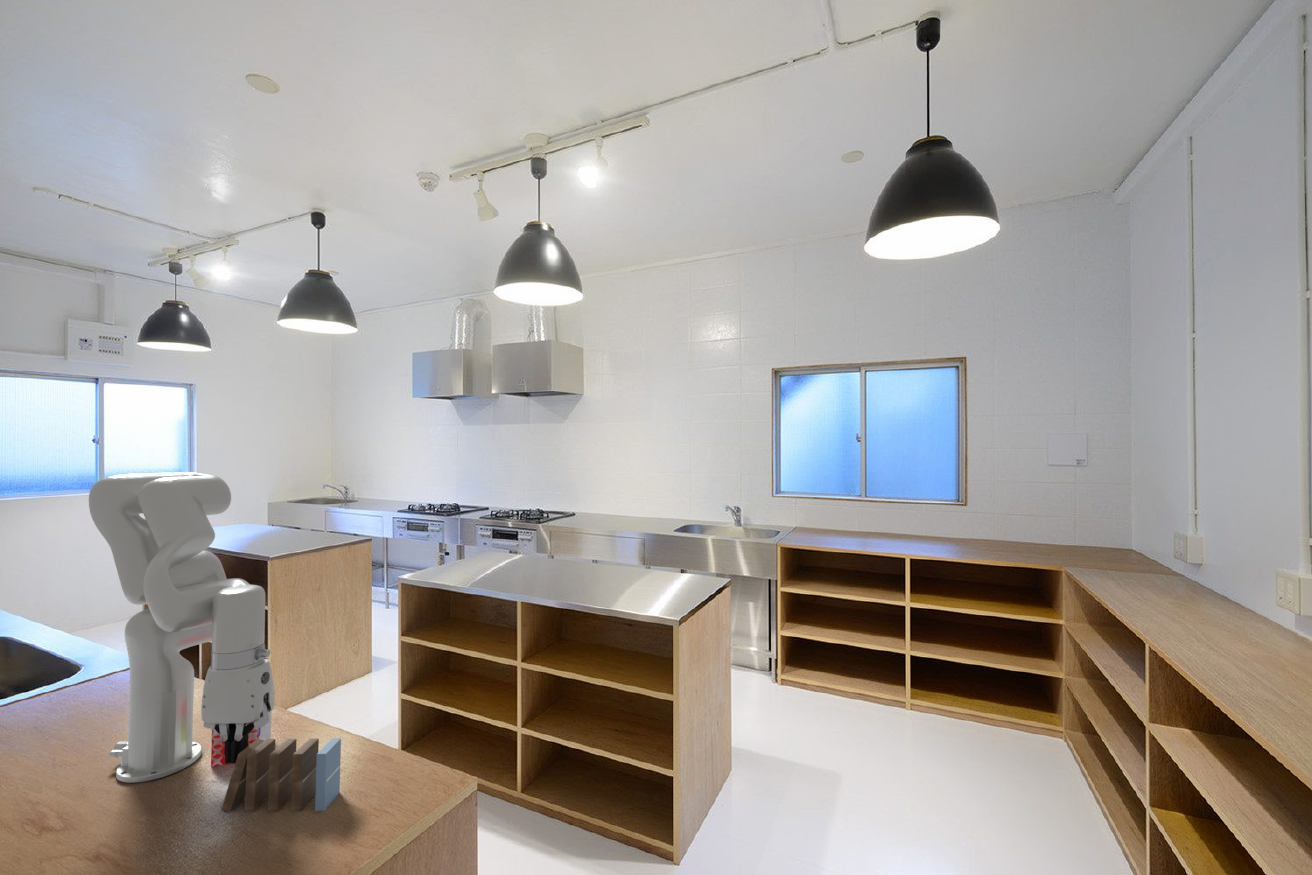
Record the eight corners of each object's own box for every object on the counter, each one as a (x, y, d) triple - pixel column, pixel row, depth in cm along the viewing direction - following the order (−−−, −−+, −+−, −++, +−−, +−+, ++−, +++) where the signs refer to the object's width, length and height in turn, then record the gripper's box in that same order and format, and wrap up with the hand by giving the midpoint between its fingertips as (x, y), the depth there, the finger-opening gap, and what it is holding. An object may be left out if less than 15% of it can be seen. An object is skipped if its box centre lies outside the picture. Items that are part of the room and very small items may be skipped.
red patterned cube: (226, 746, 115) (227, 708, 115) (270, 739, 117) (271, 703, 118) (210, 767, 107) (211, 727, 107) (258, 760, 110) (259, 721, 110)
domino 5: (314, 810, 95) (316, 753, 95) (330, 792, 100) (331, 738, 100) (324, 810, 95) (326, 753, 95) (339, 792, 100) (341, 738, 100)
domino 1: (220, 809, 94) (237, 753, 95) (241, 791, 99) (257, 738, 100) (230, 812, 94) (247, 756, 95) (250, 793, 99) (266, 740, 100)
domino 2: (244, 811, 94) (247, 754, 95) (263, 793, 99) (266, 738, 100) (254, 811, 95) (257, 754, 95) (273, 793, 100) (275, 738, 100)
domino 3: (267, 811, 95) (269, 754, 95) (285, 793, 100) (287, 738, 100) (277, 811, 95) (279, 754, 95) (295, 793, 100) (296, 738, 100)
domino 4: (291, 811, 95) (292, 753, 95) (308, 792, 100) (309, 738, 100) (301, 811, 95) (302, 753, 95) (317, 792, 100) (319, 738, 100)
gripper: (294, 648, 101) (292, 747, 101) (211, 648, 101) (209, 748, 100) (267, 664, 94) (264, 771, 93) (177, 665, 93) (175, 772, 93)
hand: (236, 759), depth 97 cm, fingers closed
